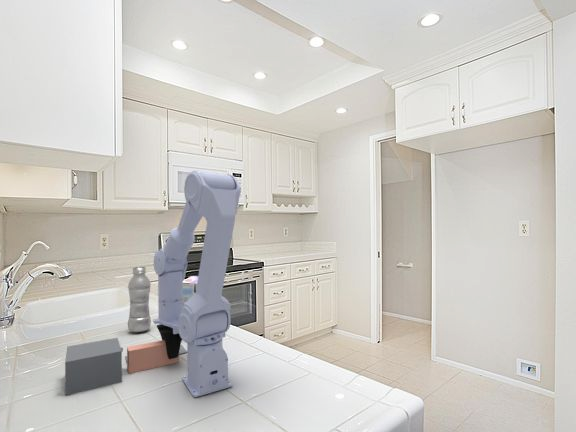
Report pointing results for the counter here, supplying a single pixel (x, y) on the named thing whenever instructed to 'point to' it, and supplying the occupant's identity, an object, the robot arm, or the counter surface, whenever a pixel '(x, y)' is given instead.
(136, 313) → the plastic bottle
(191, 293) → the candy box
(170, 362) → the tall peach block
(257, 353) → the counter surface
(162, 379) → the counter surface
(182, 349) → the pad
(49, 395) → the counter surface
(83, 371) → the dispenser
